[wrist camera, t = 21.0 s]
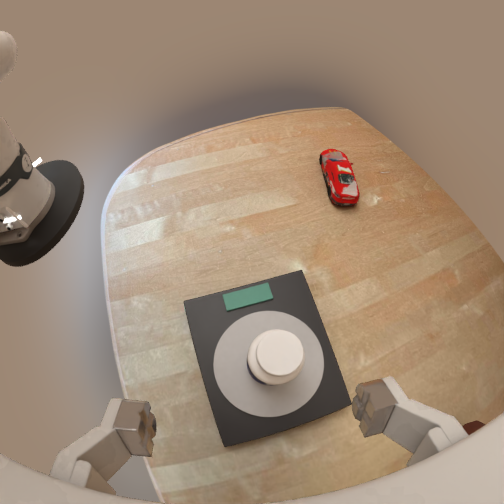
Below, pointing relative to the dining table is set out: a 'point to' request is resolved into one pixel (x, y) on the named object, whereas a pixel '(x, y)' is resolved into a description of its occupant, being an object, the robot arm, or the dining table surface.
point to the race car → (339, 178)
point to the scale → (236, 349)
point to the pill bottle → (275, 357)
